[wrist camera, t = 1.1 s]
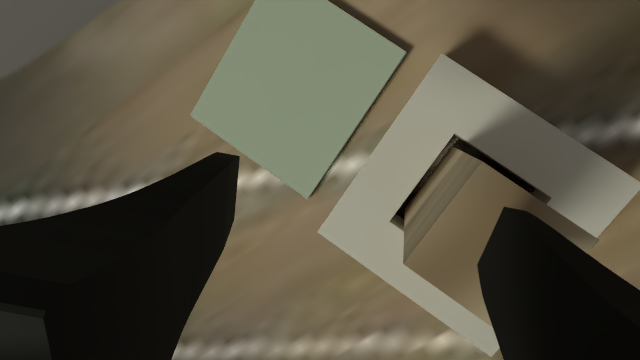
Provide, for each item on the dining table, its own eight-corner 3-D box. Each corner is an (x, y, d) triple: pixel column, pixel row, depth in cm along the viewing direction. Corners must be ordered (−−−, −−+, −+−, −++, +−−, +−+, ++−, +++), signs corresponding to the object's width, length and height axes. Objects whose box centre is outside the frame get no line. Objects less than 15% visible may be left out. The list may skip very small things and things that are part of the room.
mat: (406, 53, 21) (406, 51, 21) (309, 197, 23) (307, 199, 23) (277, -31, 22) (274, -35, 21) (194, 115, 24) (190, 115, 23)
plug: (519, 191, 21) (599, 239, 12) (469, 253, 22) (510, 340, 13) (451, 145, 21) (482, 161, 13) (404, 208, 22) (403, 264, 13)
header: (615, 177, 20) (643, 184, 18) (482, 331, 22) (491, 357, 20) (437, 61, 21) (441, 53, 18) (326, 220, 23) (317, 232, 21)
